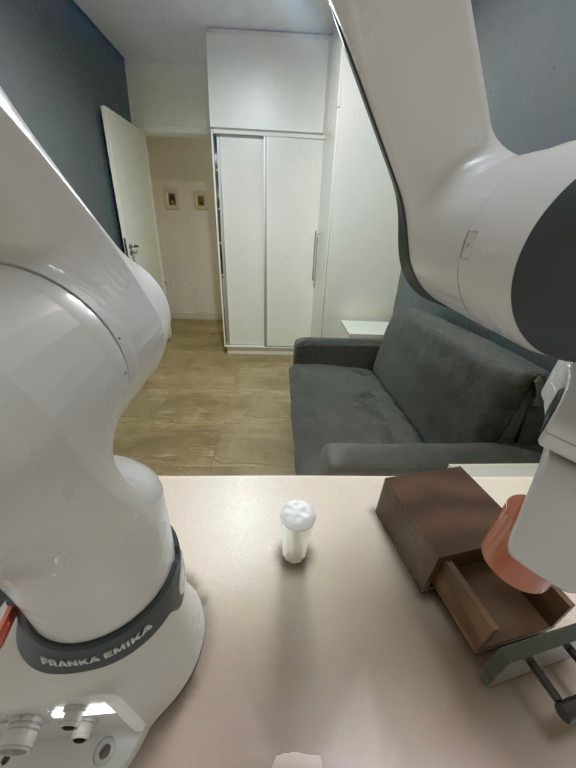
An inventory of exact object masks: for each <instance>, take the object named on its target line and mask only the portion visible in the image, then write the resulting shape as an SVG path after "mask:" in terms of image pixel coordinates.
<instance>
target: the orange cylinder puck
mask: <svg viewBox="0 0 576 768" xmlns="http://www.w3.org/2000/svg"><path fill="white" fill-rule="evenodd" d="M526 495H527V494H523V493H522V494H521V493H519V494H514V495H511V496H509V497H508V498H507V500H506V501H505V503H504V504H503V505H502V509H501V511H500V513H499V514H498V516H497V518H496V519H495V521H494V523H493V524H492V526H491V528H490V529H489V531H488V533H487V534H486V536H485V538H484V539H483V541H482V544H481V550H482V554H483V557H484V559H485V561H486V562H487V564H488V565H489V567H490V568H491V569H492V570H493V572H494V573H495V574H496V575H497V576H499V577H500V578H501V579H502V580H503V581H505V582H506V583H508V584H509V585H511V586H512V587H514V588H516V589H518V590H521V591H523V592H527V593H531V594H540V593H544V592H546V591H547V590H548V589H549V588H550V587H551V586H552V584H550V583H549V582H547V581H546V580H544V579H542V578H541V577H539V576H537V575H536V574H535V573H533V572H532V571H530V570H529V569H527V568H526V567H524V566H523V565H522V564H520V563H519V562H517V561H516V560H515V559H513V558H512V557H511V556H510V554H509V553H508V549H507V546H508V541H509V537H510V534H511V532H512V529H513V526H514V524H515V521H516V519H517V517H518V514H519V512H520V509H521V507H522V505H523V502H524V500H525V497H526Z"/></svg>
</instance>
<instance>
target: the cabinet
mask: <svg viewBox="0 0 576 768" xmlns="http://www.w3.org/2000/svg"><path fill="white" fill-rule="evenodd" d="M380 491H381V492H380V494H379V498H378V501H377V504H376V508H375V513H376V515H377V516H378V518H379V520H380V522H381V524H382V525H383V526H384V528H385V530H386V532H387V534H388V536H389V538H390V539H391V541H392V543H393V545H394V546H395V548H396V550H397V552H398V554H400V557H401V559H402V560H403V562H404V564H405V566H406V567H407V570H408V572H409V573H410V574H411V576H412V578H413V580H414V582H415V583H416V585H417V587H418V588H419V591H420V592H421V593H425V592H428V591H433V590H436V589H435V587H434V586H433V584H432V580H433V578H434V576H435V574H436V572H437V570H438V568H439V567H440V565H441V563H442V561H443V560H446V559H450V558H454V557H459V556H463V555H467V554H471V553H476V552H480V551H482V550H481V544H482V541H483V539H484V538H485V536H486V534H487V533H488V531H489V529H490V528H491V526H492V524H493V523H494V521H495V519H496V518H497V516H498V514H499V513H500V511H501V509H502V508H503V506H502V507H501V505H499V503H498V502H497V501H496V500H495V499H494V498H493V497H492V496H491V495H490V494H489V493H488V492H487V491H486V490H485V489H484V488H483V487H482V486H481V485H480V484H479V483H478V482H477V481H476V480H475V479H474V478H473V477H472V476H471V475H470V474H469V473H468V472H467V471H466V470H465V469H464V468H463V467H462V466H460V465H459V466H452V467H445V468H440V469H434V470H433V469H432V470H426V471H420V472H414V473H408V474H401V475H395V476H388V477H384V481H383V484H382V487H381V490H380Z"/></svg>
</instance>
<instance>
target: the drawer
mask: <svg viewBox="0 0 576 768" xmlns="http://www.w3.org/2000/svg"><path fill="white" fill-rule="evenodd" d="M432 584H433V586H434V587H435V589H434V590H435V591H436V592H437V594H438V596H439V597H440V599H441V601H442V602H443V604H444V606H445V607H446V609H447V611H448V612H449V614H450V615H451V617H452V619H453V620H454V622H455V624H457V627H458V629H459V630H460V632H461V633H462V635H463V637H464V638H465V640H466V642H467V643H468V645H469V646H470V648H471V649H472V651H473V653H474V654H475V655H477V654H479V653H483V652H486V651H489V650H492V649H494V648H497V651H495V653H493V655H492V656H491V657H490V658H489V660H488V661H487V662H486V663H485V664H484V665H483V667H481V669H480V670H479V671H478V672H477V673H478V675H479V677H480V679H481V680H482V682H483V684H484V685H485V687H486V688H489V687H492V686H495V685H497V684H501V683H503V682H505V681H509V680H511V679H515V678H517V677H520V676H522V675H526V674H528V673H530V672H533V674H534V675H535V677H536V678H537V680H538V681H539V682H540V684H541V685H542V687H543V689H545V691H546V692H547V694H548V696H549V697H550V698H551V700H552V701H553V702H554V704H553V705H554V706H553V707H554V710H555V712H556V714H557V715H558V717H559V718H560V719H561V721H563V722H564V723H565V724H567V725H572V724H574V723H576V693H574V694H572V695H569V696H567V697H565V698H563V697H562V696H561V695H562V694H560V692H559V691H558V690H557V688H556V687H555V686H554V684H553V683H552V681H551V680H550V679H549V678H548V676H547V674H546V673H545V672H544V670H542V668H544V667H547V666H550V665H552V664H555V663H558V662H561V661H563V660H567V659H569V658H571V659H572V660H573V661H574V662H575V663H576V622H573V623H571V624H568V625H565V626H562V627H559V628H556V629H554V628H555V627H556V626H557V625H558V624H559V623H560V622H561V621H562V620H563V619H564V618H565V617H566V616H567V615H568V614H569V613H570V612H571V611H572V610H573V609H574V608H575V607H576V603H574V601H573V600H572V599H571V598H570V597H569V596H568V595H567V594H566V592H564V591H562V590H560V589H559V588H557V587H555V586H554V585H552V586H551V587H550V588H549V589H548V590H547V591H546V592H544V593H540V594H531V593H527V592H523V591H521V590H518V589H516V588H514V587H512V586H511V585H509V584H508V583H506V582H505V581H503V580H502V579H501V578H500V577H499V576H497V575H496V574H495V573H494V572H493V570H492V569H491V568H490V567H489V565H488V564H487V562H486V561H485V559H484V557H483V554H482V551H480V552H476V553H471V554H467V555H463V556H459V557H454V558H450V559H446V560H443V561H442V563H441V565H440V567H439V568H438V570H437V572H436V574H435V576H434V578H433V580H432ZM549 630H550V631H549ZM546 631H547V632H546ZM540 633H541V634H540ZM528 637H529V638H528ZM513 642H514V643H513ZM504 645H505V646H504ZM498 647H499V648H498Z"/></svg>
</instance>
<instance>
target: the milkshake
mask: <svg viewBox="0 0 576 768" xmlns="http://www.w3.org/2000/svg"><path fill="white" fill-rule="evenodd" d="M279 518H280V529H281V530H280V531H281V554H282V557H283V558H284V560H285V561H286V562H287V563H288V562H289V563H290V564H292V565H294V564H299V563H301V562H302V561H303V560H304V559H305V557H306V555H307V551H308V546H309V542H310V539H311V535H312V532H313V530H314V529H313V528H314V526H315V522H316V519H317V515H316V511H315V509H314V507H313V506H312V505H311V504H310V503H309V502H308V501H305V500H303V499H295V498H294V499H290V500H288V501H286V502H285V503H284V504H283V505H282V506H281V508H280V513H279Z"/></svg>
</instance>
